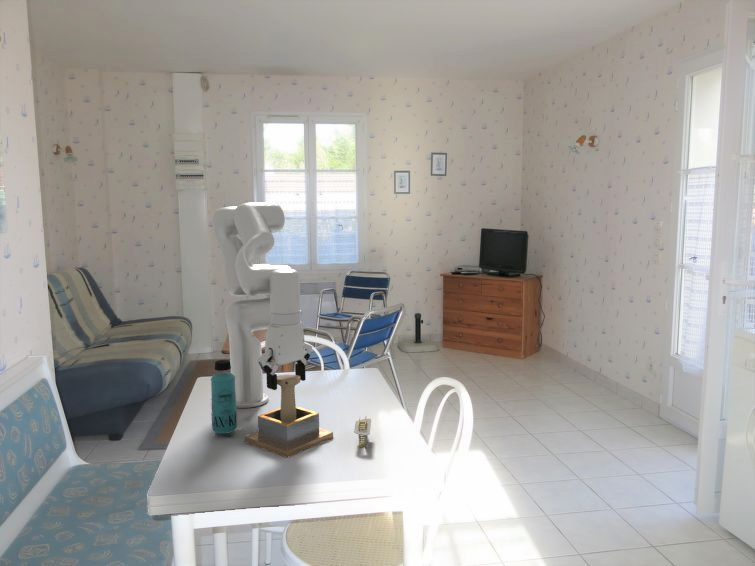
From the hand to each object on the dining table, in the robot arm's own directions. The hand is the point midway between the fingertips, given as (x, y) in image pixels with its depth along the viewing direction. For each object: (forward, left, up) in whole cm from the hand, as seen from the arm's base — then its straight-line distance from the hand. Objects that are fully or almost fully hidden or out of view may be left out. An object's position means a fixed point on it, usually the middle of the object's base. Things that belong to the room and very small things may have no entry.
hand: (286, 384), depth 154 cm
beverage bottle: (-15, -8, -15) cm, 23 cm away
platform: (+17, +10, -15) cm, 25 cm away
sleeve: (+1, 0, -15) cm, 15 cm away
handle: (0, 0, -13) cm, 13 cm away
